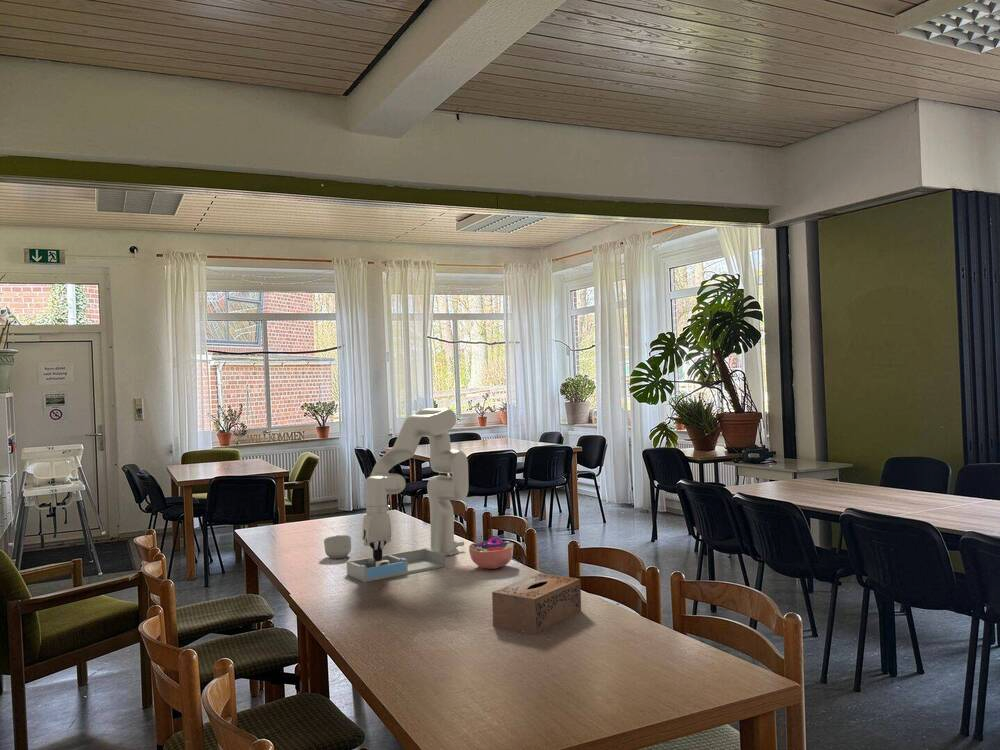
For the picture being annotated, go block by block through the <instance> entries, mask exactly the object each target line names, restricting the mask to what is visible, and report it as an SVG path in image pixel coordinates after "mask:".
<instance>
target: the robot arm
mask: <svg viewBox="0 0 1000 750" xmlns="http://www.w3.org/2000/svg"><path fill="white" fill-rule="evenodd" d="M456 422H457V416H456V413H455V412H454V410H452V409H450V408H422V409H419V410H418V411H417V413H416V414H412V415H408V416H407V417H406V419H405V420H404V421H403V424H402V427H401V429H400V430H399V433H398V435H397V438H396V440H395V442H394V445H393V446H392V447H391V448H390V449H389V450H387V451H386V452H385V453H384V454H383V455H382V456H381V457H380V458H378V460H377V461H376V463H375V464H374V466H373V468H372V471H371V473H370V476H368V477H367V478H366V479H365V501H366V503H365V505H366V509H365V510H366V513H364V515H363V520H362V527H361V528H362V529H361V531H362V532H361V533H362V534H361V537H362V541H363V545H364V546H367V547H370V548H371V550H372V555H373V556H372V557H373V558H374V560H377V561H379V560H382V555H383V549H385V548H384V547H385V546H386V544H388V543H390V542H391V541H392V539H391V537H392V524H391V517H390V513H389V512H388V510H390V509H391V506H390V505H389V504H388V495H396V494H397V495H398V494H401V492H403V491H404V490H405V488H406V484H407V483H406V479H405V478H404V476H403V475H401V474H399V473H390V472H389V471H390V470H391V469H393V467H395V466H396V465H398V464H400V463H402V462H405V461H406V460H410V459H411V458H413V457H414V455H415V453H416V450H417V448H418V447H419V444H420V441H421V439H422V437H425V438H426V437H428V440H429V462H430V468H431V470H432V471H433V472H435V473H443V474H451V476H450V475H435V476H433V477H431V478H430V479H429V480H428V482H427V485H426V490H427V496H428V501H429V513H430V515H429V516H430V525H429V526H430V548H429V549H430V550H433V551H436V552H439V553H443V554H445V557H446V556H448V555H449V556H454V555H457V554H458V553H459V549H458V547H463V546H465V542H464V541H463V540H461V541H456V540H455V533H454V532H455V530H454V529H455V528H454V527H455V525H454V523H455V522H454V515H455V514H454V507H453V504H452V503H451V501H463V500H465V499H466V497H467V496H468V494H469V461H468V457H467V455H466V453H465V452H464V451H463V450H458V449H452V447H451V437H450V434H449V432H448V431H451V430H452V429H453V428H454V427H455V426H456V424H457V423H456ZM457 552H458V553H457ZM456 553H457V554H456ZM453 554H454V555H453Z"/></svg>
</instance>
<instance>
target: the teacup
mask: <svg viewBox="0 0 1000 750" xmlns="http://www.w3.org/2000/svg"><path fill="white" fill-rule="evenodd" d="M323 543H324V551H325V552H324V553H325V555H326V556H327V557H329V558H330V559H334V560H335V559H336V560H337V559H343V558H346V557H347V556H348V555H349V554H350V553H351V552H352V536H351V535H345V534H344V535H341V534H338V535H337V534H336V535H334V536H332V535H331V536H328V537H326V538H324V539H323Z"/></svg>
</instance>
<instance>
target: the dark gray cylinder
mask: <svg viewBox="0 0 1000 750" xmlns="http://www.w3.org/2000/svg"><path fill="white" fill-rule="evenodd" d="M387 564H389V561H388V560H383V561H382V560H379V561H377V560H374V558H370V559H368V561H367V564H366V565H367V568H370V567H376V566H382V565H387Z"/></svg>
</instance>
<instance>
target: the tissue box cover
mask: <svg viewBox="0 0 1000 750" xmlns="http://www.w3.org/2000/svg"><path fill="white" fill-rule="evenodd" d="M581 582H582V581H581V578H576V577H568V576H562V575H555V574H548V573H541V572H539V573H537V574H534V575H533V576H530V577H527V578H524V579H522V580H519V581H516V582H515V583H512V584H509V585H507V586H504V587H502V588H499V589H496V590H495V591H492V592H491V598H492V599H491V600H492V603H491V604H492V605H491V606H492V627H496V626H497V627H498V628H502V629H507V630H511V629H512V630H513V631H516V630H518V631H517V632H521V631H524V632H523V633H526V632H528V634H531V633H533V634H532V635H537V634H538V632H539V633H540V631H541V632H542V630H543V631H544V629H545V630H546V628H547V629H549V628H550V626H551V627H552V625H553V626H554V625H557V624H558V622H559V623H560V622H563V621H565V620H566V619H568V618H570V617H572V616H574V615H576V614H578V613H580V612H582V596H581V595H582V586H581ZM579 611H580V612H579ZM562 620H563V621H562ZM556 623H557V624H556ZM548 627H549V628H548ZM536 633H537V634H536Z"/></svg>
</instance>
